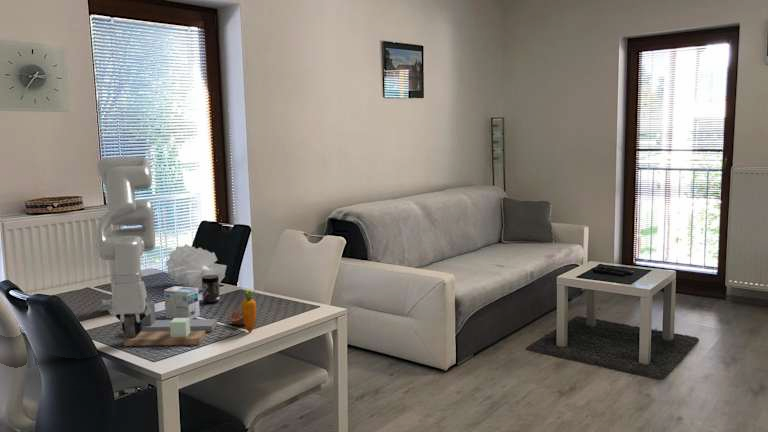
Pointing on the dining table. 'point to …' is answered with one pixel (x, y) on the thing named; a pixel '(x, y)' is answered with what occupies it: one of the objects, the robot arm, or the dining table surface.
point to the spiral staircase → (193, 266)
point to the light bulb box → (181, 302)
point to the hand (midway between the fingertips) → (132, 332)
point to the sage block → (180, 327)
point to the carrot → (249, 311)
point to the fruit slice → (236, 317)
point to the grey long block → (164, 325)
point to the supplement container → (210, 289)
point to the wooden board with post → (156, 336)
